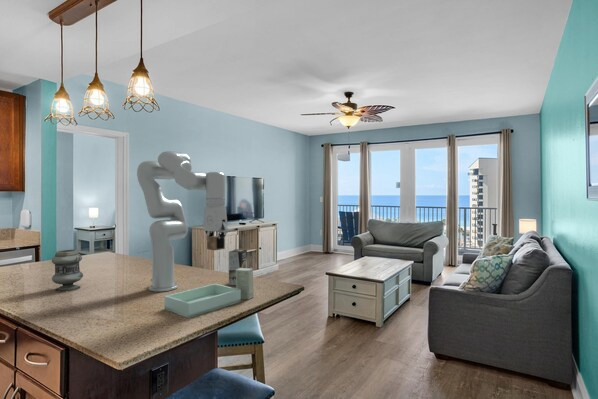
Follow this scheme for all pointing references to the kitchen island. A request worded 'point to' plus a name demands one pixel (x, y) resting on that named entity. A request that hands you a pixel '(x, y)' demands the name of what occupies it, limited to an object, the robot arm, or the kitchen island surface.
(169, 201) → the robot arm
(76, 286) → the apothecary jar
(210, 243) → the tan cube
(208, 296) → the tote
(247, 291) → the skincare box
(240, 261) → the coffee box
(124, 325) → the kitchen island surface
